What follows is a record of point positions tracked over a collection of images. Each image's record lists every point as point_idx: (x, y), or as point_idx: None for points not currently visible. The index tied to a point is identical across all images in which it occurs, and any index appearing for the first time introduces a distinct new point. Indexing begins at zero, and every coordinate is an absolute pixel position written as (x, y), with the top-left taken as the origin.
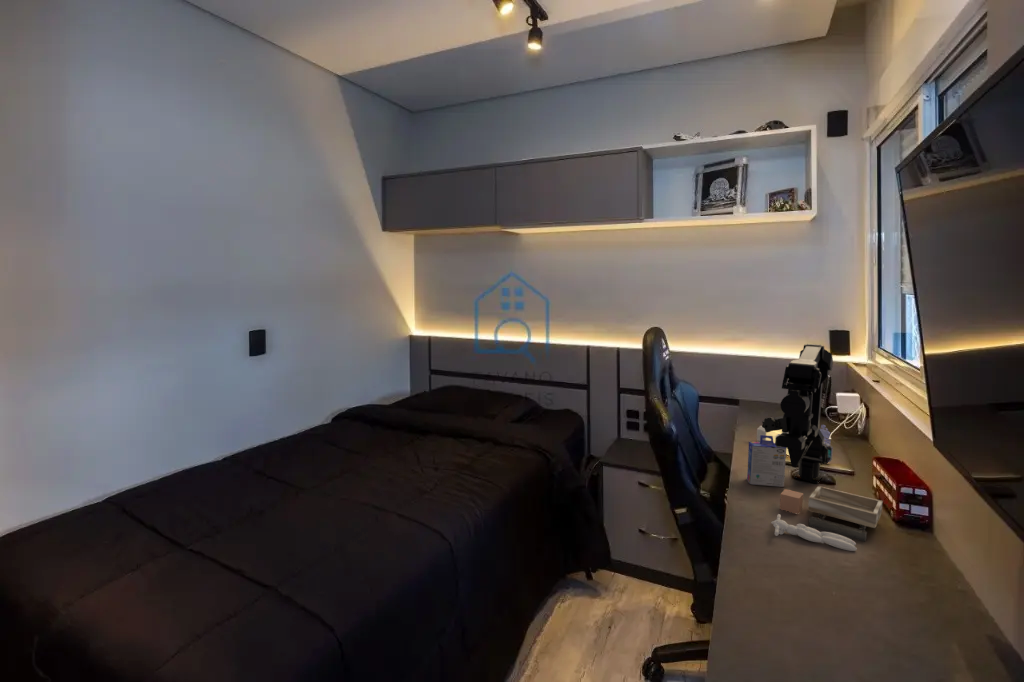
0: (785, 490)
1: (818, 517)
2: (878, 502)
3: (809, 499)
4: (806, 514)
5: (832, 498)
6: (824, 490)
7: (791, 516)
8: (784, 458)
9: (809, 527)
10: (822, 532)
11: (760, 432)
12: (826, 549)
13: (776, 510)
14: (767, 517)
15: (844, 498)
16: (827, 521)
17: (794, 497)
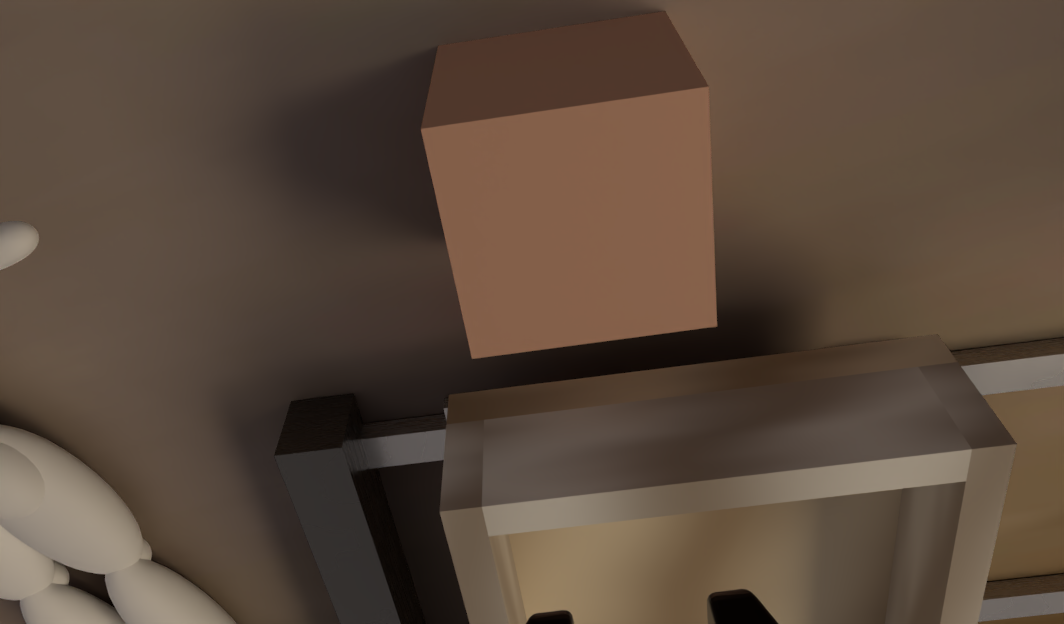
0: (638, 117)
1: None
2: None
3: (442, 498)
4: None
5: (906, 500)
6: (946, 489)
7: (358, 219)
8: None
9: (45, 531)
10: (110, 588)
11: None
12: (3, 600)
13: (370, 30)
14: (55, 49)
15: (907, 607)
16: (355, 562)
17: (461, 306)
